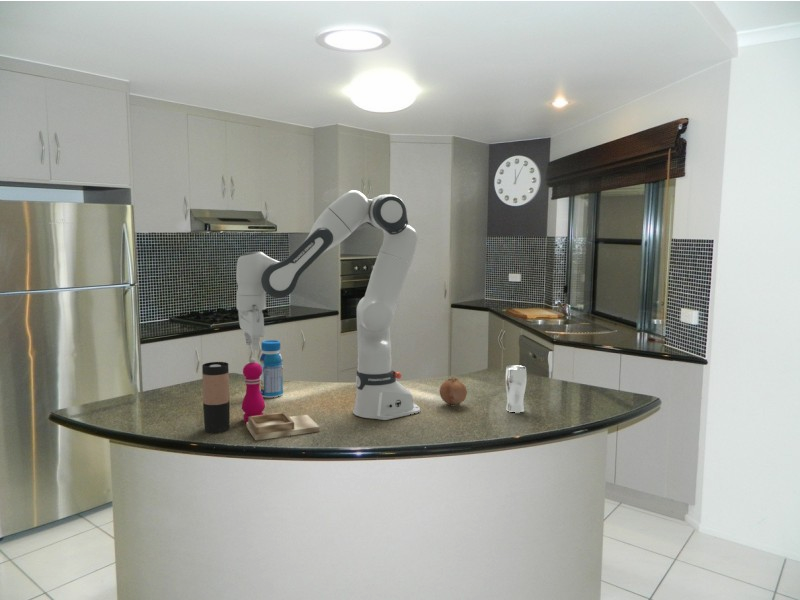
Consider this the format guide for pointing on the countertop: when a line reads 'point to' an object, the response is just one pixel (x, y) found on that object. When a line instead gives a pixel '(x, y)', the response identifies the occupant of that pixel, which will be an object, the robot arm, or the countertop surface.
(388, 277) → the robot arm
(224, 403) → the travel mug
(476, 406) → the countertop surface
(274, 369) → the beverage bottle
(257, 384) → the pepper mill
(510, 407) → the beer glass
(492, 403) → the countertop surface
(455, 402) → the onion
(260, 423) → the mill holder
